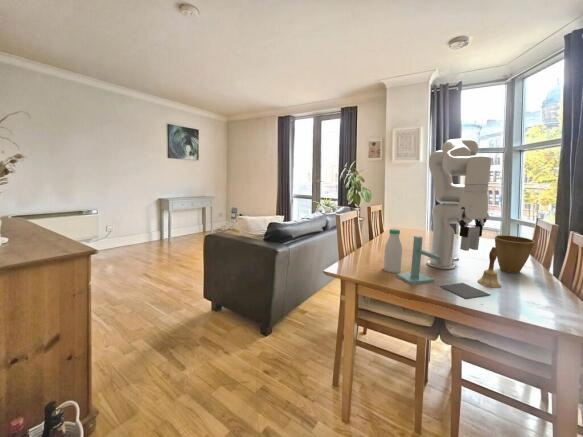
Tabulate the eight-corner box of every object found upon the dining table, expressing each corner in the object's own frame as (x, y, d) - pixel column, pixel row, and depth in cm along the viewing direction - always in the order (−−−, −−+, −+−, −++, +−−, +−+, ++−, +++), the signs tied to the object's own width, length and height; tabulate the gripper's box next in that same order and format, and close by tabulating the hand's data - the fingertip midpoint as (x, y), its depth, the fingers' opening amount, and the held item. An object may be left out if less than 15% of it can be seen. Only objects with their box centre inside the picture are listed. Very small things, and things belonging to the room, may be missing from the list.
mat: (462, 283, 117) (462, 282, 117) (489, 295, 105) (490, 294, 105) (439, 286, 113) (440, 285, 113) (465, 298, 102) (465, 297, 102)
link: (472, 248, 108) (474, 225, 107) (477, 249, 106) (480, 226, 105) (460, 249, 107) (462, 226, 105) (465, 250, 104) (468, 227, 103)
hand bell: (481, 278, 123) (485, 244, 120) (503, 284, 116) (508, 248, 114) (474, 283, 118) (478, 246, 115) (497, 289, 111) (502, 251, 109)
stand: (417, 273, 128) (421, 233, 125) (447, 287, 112) (452, 242, 109) (395, 276, 125) (398, 235, 122) (423, 291, 109) (427, 244, 106)
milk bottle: (401, 273, 128) (405, 231, 125) (384, 272, 129) (387, 230, 126) (398, 268, 135) (401, 228, 132) (382, 267, 137) (385, 227, 134)
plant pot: (483, 265, 141) (487, 235, 138) (512, 265, 141) (516, 235, 139) (506, 276, 126) (511, 242, 124) (538, 276, 126) (543, 242, 124)
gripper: (483, 188, 109) (478, 233, 112) (449, 188, 104) (444, 235, 107) (502, 189, 102) (496, 237, 105) (466, 189, 97) (461, 239, 100)
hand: (470, 235), depth 106 cm, fingers closed on link, 6 cm apart
